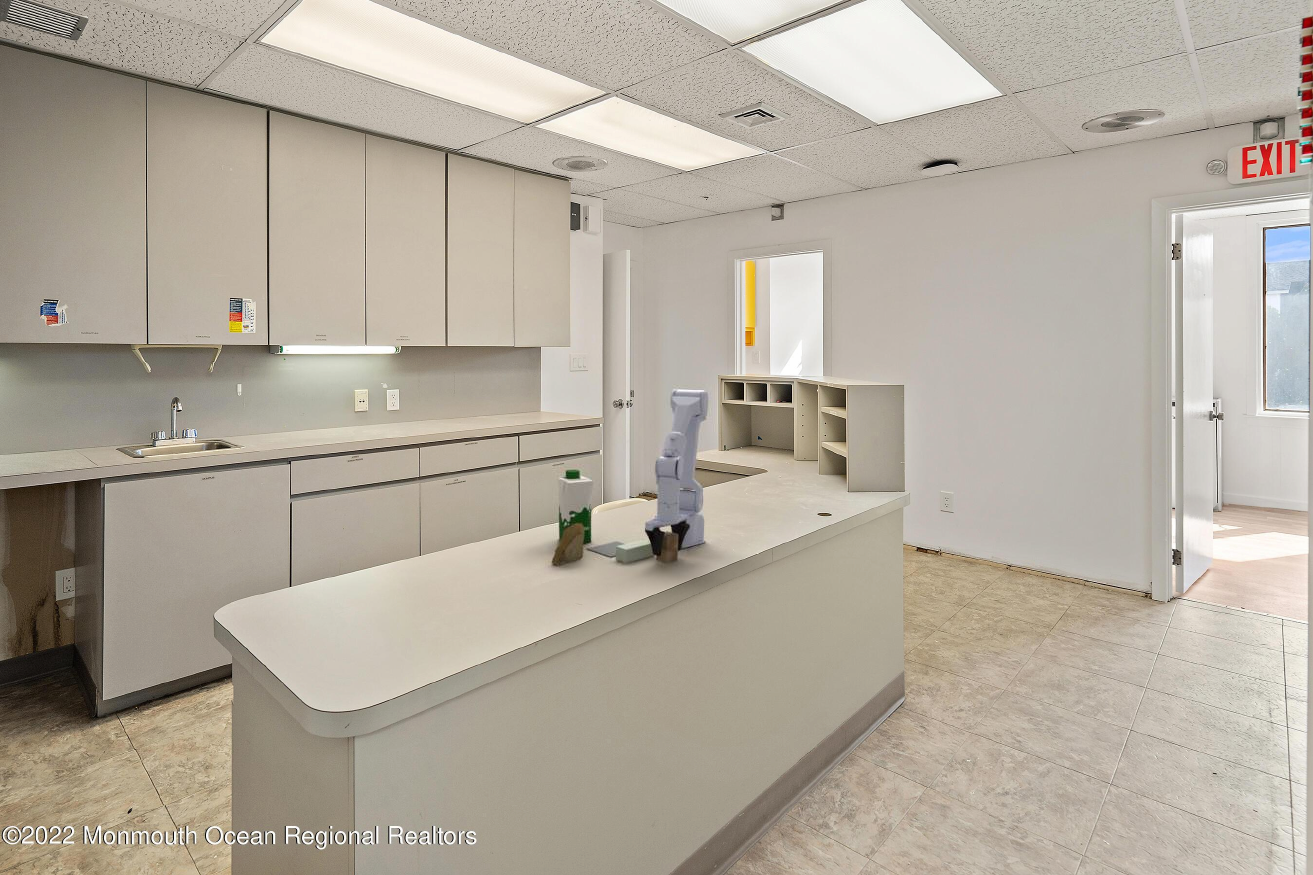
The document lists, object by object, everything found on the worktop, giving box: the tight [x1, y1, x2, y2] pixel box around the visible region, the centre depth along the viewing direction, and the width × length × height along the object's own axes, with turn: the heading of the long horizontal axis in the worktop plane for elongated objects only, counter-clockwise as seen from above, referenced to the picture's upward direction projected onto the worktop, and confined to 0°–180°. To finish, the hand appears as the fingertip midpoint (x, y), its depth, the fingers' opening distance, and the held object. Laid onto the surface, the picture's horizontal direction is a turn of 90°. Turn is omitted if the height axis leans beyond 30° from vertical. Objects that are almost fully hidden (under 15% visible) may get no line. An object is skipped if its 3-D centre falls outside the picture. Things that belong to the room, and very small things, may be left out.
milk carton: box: [557, 469, 594, 544], centre depth 196 cm, size 9×9×20 cm
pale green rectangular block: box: [615, 539, 654, 564], centre depth 182 cm, size 10×4×4 cm, turn 135°
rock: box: [550, 523, 584, 566], centre depth 178 cm, size 11×9×10 cm
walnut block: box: [655, 531, 679, 564], centre depth 180 cm, size 4×4×7 cm
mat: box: [586, 540, 625, 558], centre depth 189 cm, size 11×10×1 cm
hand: (667, 552), depth 181 cm, fingers open, 7 cm apart
